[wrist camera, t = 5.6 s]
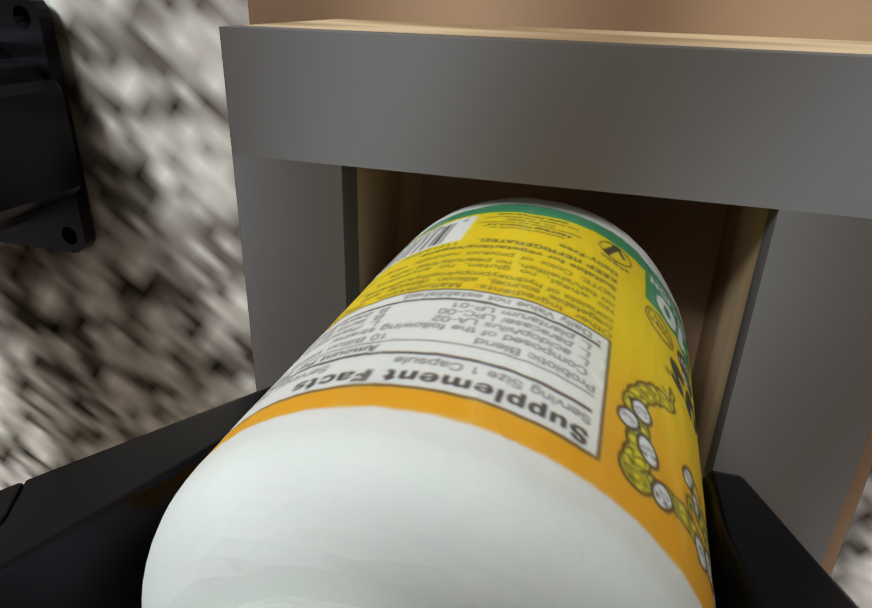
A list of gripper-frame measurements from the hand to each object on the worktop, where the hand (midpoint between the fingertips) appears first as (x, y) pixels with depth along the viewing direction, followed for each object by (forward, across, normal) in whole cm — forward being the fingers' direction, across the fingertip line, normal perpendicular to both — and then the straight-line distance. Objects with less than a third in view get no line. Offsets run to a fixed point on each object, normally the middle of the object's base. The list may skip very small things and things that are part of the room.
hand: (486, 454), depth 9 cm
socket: (+7, 0, 0) cm, 7 cm away
